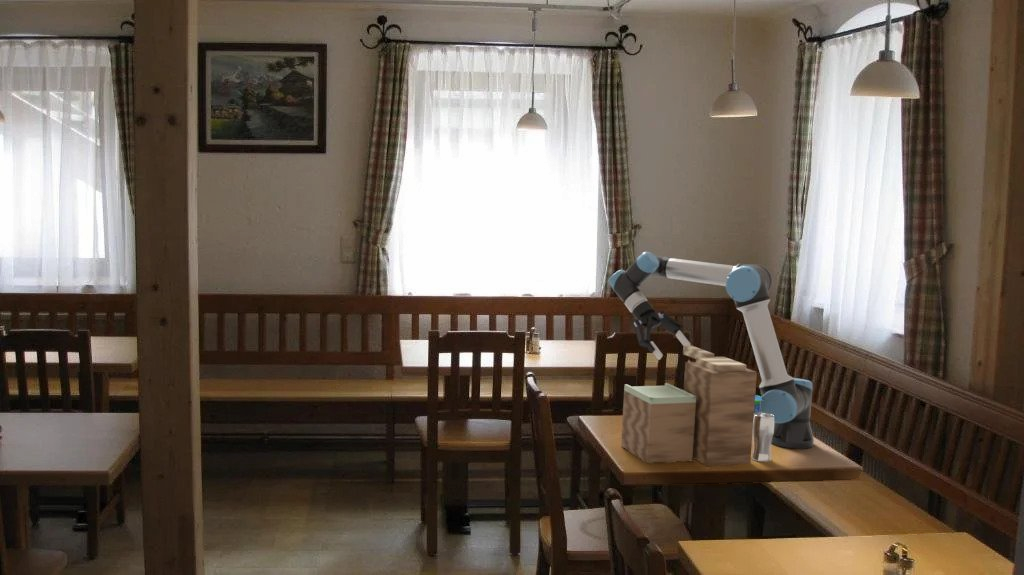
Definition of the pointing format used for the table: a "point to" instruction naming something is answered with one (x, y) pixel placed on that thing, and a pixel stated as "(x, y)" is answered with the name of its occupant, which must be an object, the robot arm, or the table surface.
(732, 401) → the tall crate
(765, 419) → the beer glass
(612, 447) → the table surface
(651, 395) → the tray
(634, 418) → the wooden box
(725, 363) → the cream cross-shaped block
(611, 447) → the table surface
